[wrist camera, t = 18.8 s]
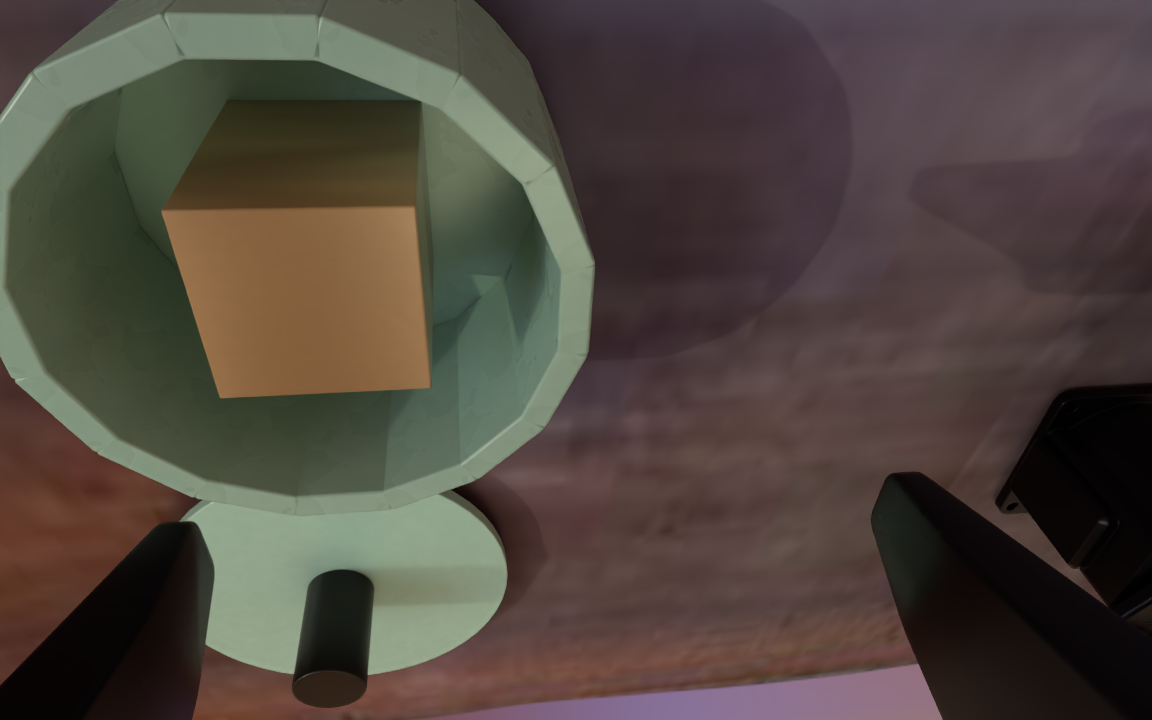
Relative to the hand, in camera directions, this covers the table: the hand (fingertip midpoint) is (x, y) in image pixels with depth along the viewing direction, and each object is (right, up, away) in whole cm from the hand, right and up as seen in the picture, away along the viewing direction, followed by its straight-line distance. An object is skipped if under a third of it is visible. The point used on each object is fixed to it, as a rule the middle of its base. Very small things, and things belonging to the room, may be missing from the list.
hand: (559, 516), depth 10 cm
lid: (-9, -6, +19) cm, 22 cm away
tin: (-6, +7, +10) cm, 13 cm away
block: (-6, +6, +10) cm, 13 cm away
